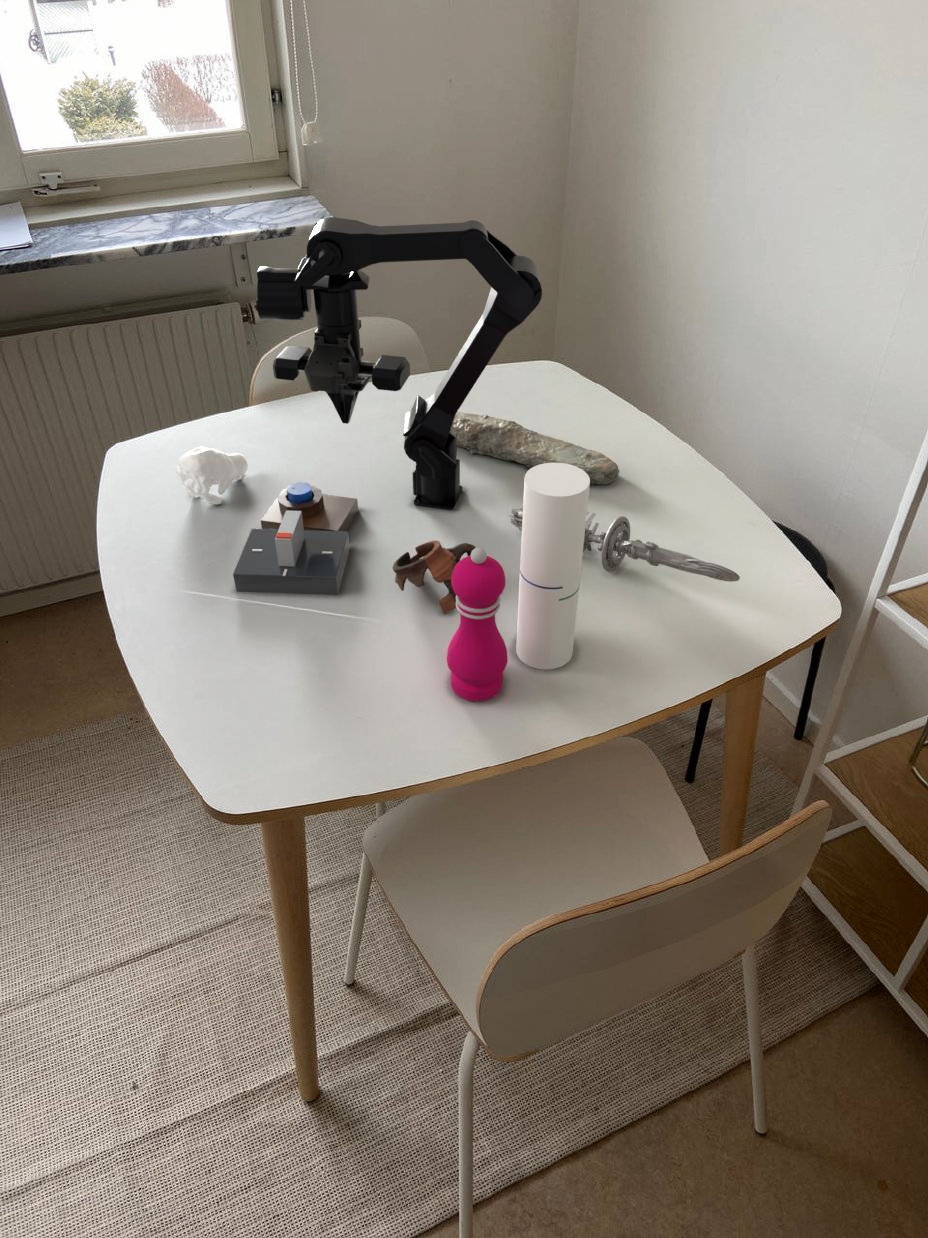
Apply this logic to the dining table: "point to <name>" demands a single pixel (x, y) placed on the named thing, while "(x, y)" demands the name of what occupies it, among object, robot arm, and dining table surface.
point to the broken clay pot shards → (432, 568)
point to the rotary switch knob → (290, 538)
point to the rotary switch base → (311, 573)
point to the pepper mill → (477, 628)
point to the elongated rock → (527, 446)
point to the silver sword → (639, 550)
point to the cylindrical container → (550, 563)
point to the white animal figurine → (210, 472)
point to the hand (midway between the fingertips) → (346, 422)
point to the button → (299, 492)
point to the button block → (314, 512)
